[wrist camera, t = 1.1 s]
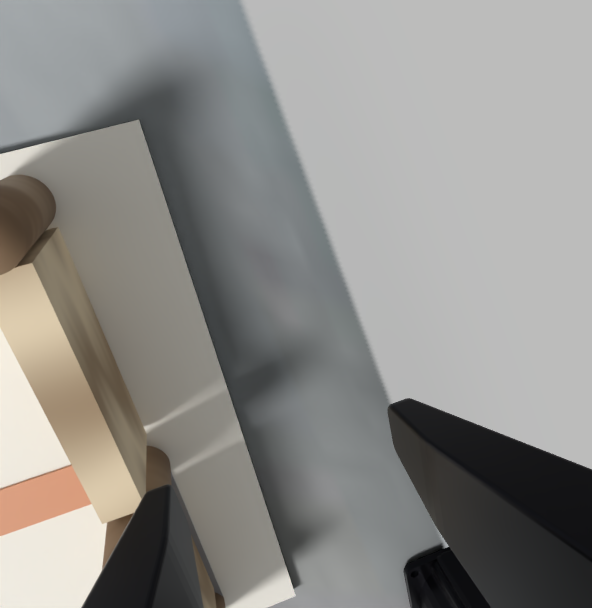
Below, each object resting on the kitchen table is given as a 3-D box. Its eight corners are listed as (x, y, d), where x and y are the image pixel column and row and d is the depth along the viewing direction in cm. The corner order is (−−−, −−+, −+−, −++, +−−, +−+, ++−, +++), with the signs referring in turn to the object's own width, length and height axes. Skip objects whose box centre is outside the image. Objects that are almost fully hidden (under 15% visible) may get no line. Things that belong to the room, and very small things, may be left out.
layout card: (293, 589, 28) (296, 597, 28) (-69, 734, 26) (-73, 745, 25) (138, 119, 18) (138, 119, 18) (-493, 276, 15) (-513, 281, 15)
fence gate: (177, 480, 23) (185, 587, 18) (124, 499, 23) (116, 613, 18) (47, 166, 17) (4, 193, 12) (-27, 185, 17) (-103, 221, 12)
